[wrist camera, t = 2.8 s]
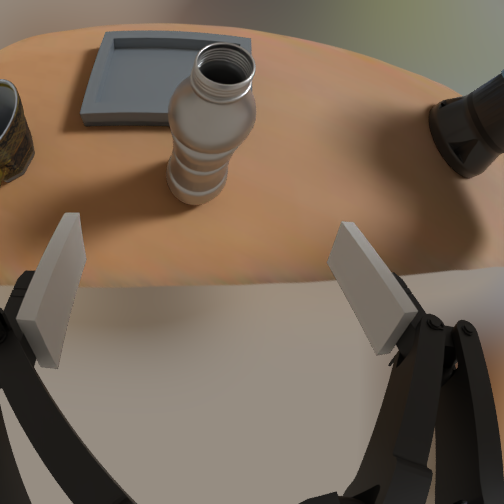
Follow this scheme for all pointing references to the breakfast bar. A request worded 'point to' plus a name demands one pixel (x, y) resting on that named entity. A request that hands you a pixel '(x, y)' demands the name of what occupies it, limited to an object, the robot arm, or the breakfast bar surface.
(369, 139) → the breakfast bar surface
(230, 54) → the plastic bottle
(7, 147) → the ceramic cup
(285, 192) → the breakfast bar surface
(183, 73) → the tray
